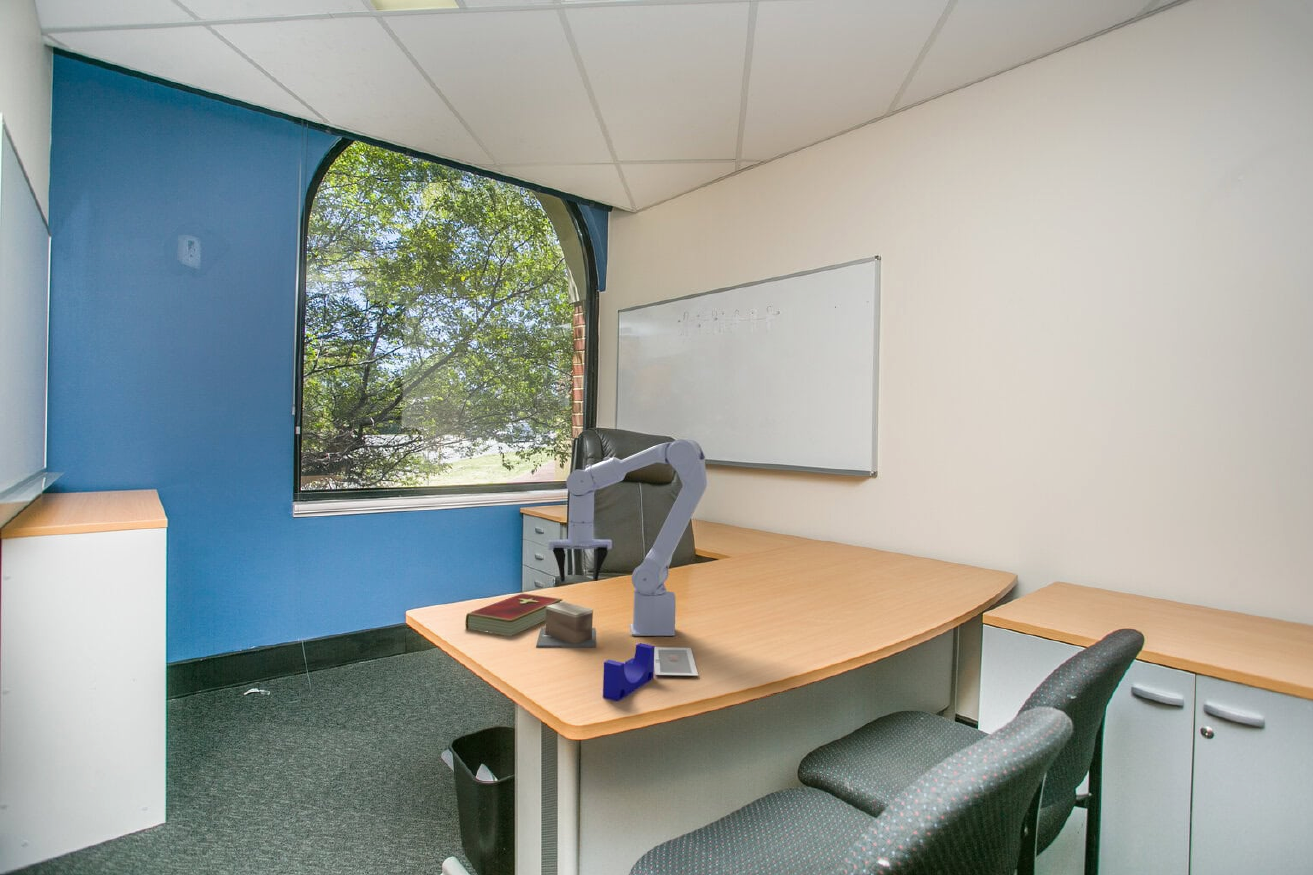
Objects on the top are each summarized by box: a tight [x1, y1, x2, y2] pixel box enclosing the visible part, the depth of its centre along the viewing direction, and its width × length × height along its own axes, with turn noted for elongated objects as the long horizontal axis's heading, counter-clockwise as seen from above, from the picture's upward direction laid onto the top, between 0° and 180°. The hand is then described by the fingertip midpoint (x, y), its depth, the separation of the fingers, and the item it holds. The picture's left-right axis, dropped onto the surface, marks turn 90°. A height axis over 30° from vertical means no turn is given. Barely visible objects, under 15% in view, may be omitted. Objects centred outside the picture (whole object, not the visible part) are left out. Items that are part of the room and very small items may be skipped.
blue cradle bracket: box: [602, 642, 656, 702], centre depth 109 cm, size 12×4×6 cm, turn 151°
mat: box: [535, 627, 597, 648], centre depth 134 cm, size 12×12×1 cm
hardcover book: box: [464, 592, 563, 637], centre depth 145 cm, size 12×21×4 cm, turn 158°
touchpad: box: [654, 646, 699, 677], centre depth 120 cm, size 8×15×2 cm, turn 2°
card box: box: [545, 601, 594, 644], centre depth 134 cm, size 5×9×6 cm, turn 52°
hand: (579, 580), depth 145 cm, fingers open, 7 cm apart
